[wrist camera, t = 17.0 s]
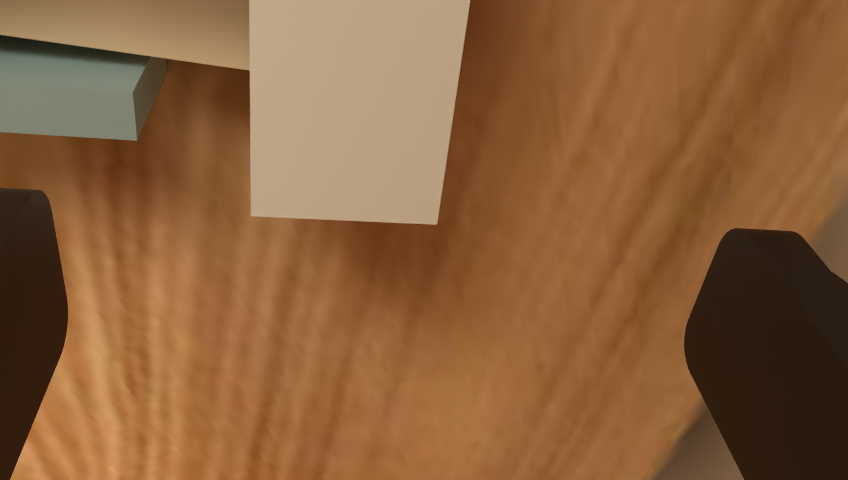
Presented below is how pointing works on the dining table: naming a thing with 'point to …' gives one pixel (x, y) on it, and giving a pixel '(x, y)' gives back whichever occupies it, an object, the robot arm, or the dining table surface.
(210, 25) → the cream long bar
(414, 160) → the white bridge block
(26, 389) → the robot arm
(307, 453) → the dining table surface
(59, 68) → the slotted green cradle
